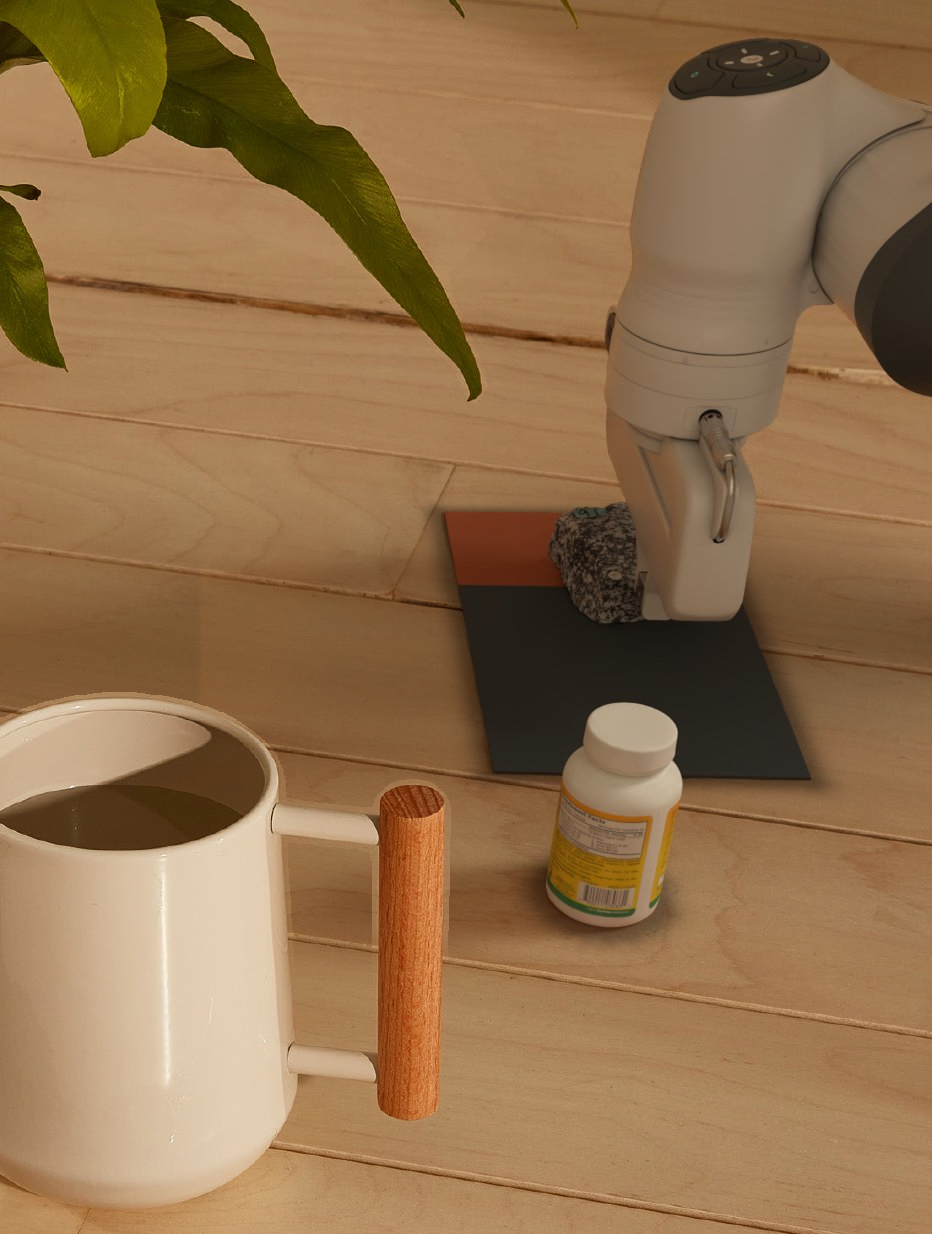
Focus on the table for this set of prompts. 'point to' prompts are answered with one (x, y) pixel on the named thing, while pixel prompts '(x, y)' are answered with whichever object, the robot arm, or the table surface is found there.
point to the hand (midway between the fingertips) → (652, 607)
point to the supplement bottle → (615, 817)
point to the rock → (598, 561)
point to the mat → (604, 664)
